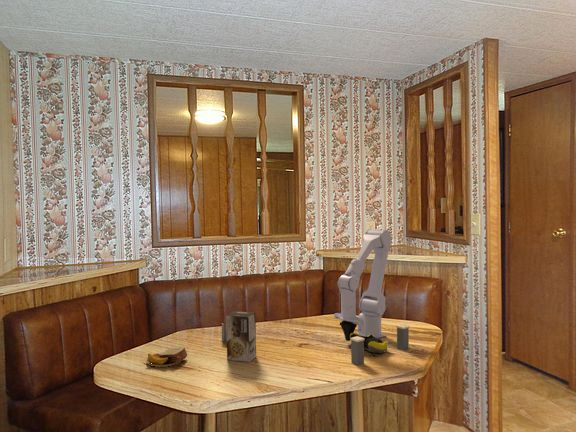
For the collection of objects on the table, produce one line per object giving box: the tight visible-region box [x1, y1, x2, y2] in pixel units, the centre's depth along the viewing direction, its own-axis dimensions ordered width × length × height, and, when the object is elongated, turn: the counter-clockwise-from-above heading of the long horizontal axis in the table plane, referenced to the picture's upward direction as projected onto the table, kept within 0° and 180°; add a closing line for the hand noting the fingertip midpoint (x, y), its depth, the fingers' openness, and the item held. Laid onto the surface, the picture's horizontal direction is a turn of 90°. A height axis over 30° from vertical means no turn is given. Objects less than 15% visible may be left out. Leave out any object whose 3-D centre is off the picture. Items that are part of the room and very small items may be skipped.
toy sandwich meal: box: [146, 346, 188, 368], centre depth 152 cm, size 12×14×5 cm
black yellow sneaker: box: [350, 332, 389, 354], centre depth 162 cm, size 15×6×10 cm
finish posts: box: [350, 323, 410, 366], centre depth 156 cm, size 3×27×9 cm, turn 126°
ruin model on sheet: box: [221, 322, 227, 343], centre depth 177 cm, size 11×3×10 cm, turn 115°
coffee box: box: [225, 310, 257, 363], centre depth 155 cm, size 9×6×16 cm
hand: (348, 340), depth 169 cm, fingers closed
